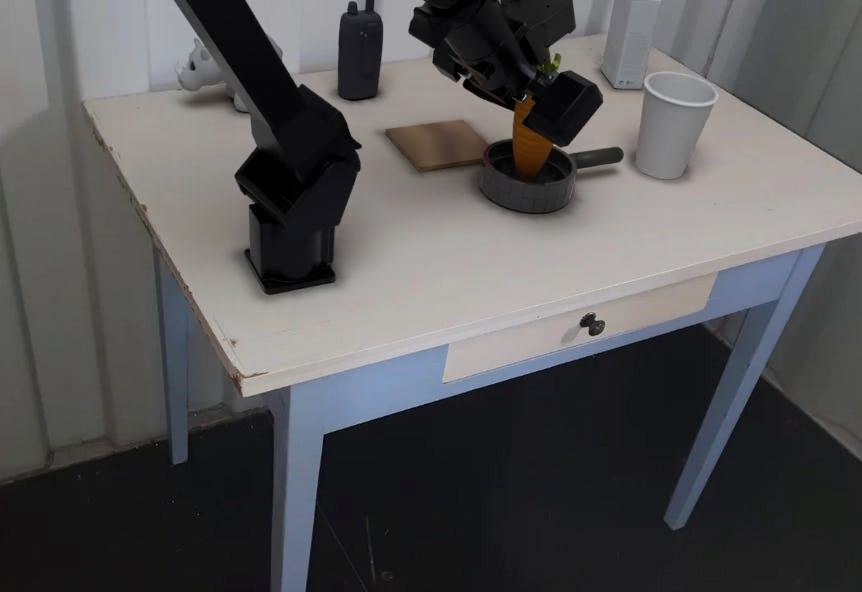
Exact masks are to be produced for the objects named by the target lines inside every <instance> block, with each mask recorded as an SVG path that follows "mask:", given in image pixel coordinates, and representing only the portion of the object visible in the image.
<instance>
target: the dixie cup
mask: <svg viewBox="0 0 862 592" xmlns="http://www.w3.org/2000/svg"><path fill="white" fill-rule="evenodd" d="M643 86H644V90H643V91H644V92H643V98H642V99H643V100H642V101H643V102H642V107H641V116H640V122H639V129H638V130H639V131H638V137H637V138H638V139H637V147H636V154H635V163H634V165H635V167H636V168H637V169H638V171H640V172H641V173H642V174H645V175H647V176H649V177H651V178H655V179H660V180H675V179H678V178H680V177H682V176H683V174H684V172H685V170H686V167H687V165H688V163H689V161H690V159H691V157H692V155H693V153H694V150H695V148H696V145H697V143H698V141H699V139H700V137H701V135H702V132H703V130H704V128H705V125H706V123H707V122H708V119H709V116H711V115H710V114H711V112H712V110H713V108H714V106H715V104H716V103H717V102H719V99H720V95H719V91H717V89H716V88H715V87H714V86H713V85H712V84H711V83H709V82H708V81H706V80H704V79H702V78H700V77H697V76H694V75H691V74H688V73H683V72H679V71H656V72H653V73H650V74H648V75H647V76H646V77H644V80H643Z"/></svg>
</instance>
